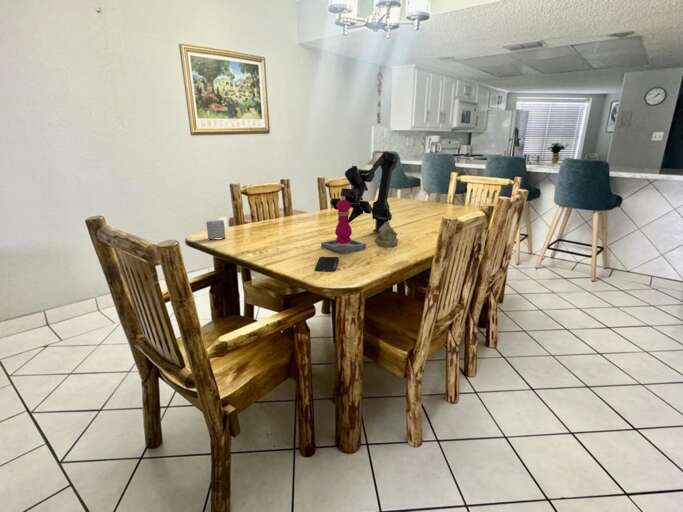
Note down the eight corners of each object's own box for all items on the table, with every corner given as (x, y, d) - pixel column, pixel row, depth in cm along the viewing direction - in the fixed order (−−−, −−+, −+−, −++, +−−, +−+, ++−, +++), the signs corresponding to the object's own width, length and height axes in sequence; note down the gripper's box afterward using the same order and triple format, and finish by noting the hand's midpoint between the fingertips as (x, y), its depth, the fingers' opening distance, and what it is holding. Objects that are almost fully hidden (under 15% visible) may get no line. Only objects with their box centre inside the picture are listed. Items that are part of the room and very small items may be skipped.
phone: (339, 257, 144) (335, 269, 129) (339, 259, 144) (335, 272, 130) (319, 256, 144) (313, 269, 130) (319, 259, 145) (314, 272, 130)
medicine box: (225, 237, 177) (223, 219, 174) (225, 239, 173) (223, 221, 170) (208, 238, 175) (206, 220, 172) (208, 240, 171) (206, 222, 168)
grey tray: (321, 247, 160) (321, 242, 159) (345, 241, 168) (345, 237, 168) (340, 254, 149) (340, 249, 149) (365, 248, 158) (366, 243, 157)
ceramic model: (373, 239, 174) (373, 218, 171) (396, 238, 174) (397, 218, 171) (377, 247, 160) (377, 225, 157) (402, 247, 161) (403, 225, 158)
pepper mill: (353, 243, 156) (353, 197, 149) (336, 244, 154) (336, 197, 148) (349, 239, 162) (350, 194, 156) (334, 240, 161) (333, 195, 155)
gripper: (332, 179, 159) (318, 208, 154) (369, 182, 150) (355, 212, 144) (342, 195, 168) (328, 223, 163) (377, 198, 158) (365, 228, 153)
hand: (343, 221), depth 156 cm, fingers closed on pepper mill, 5 cm apart
